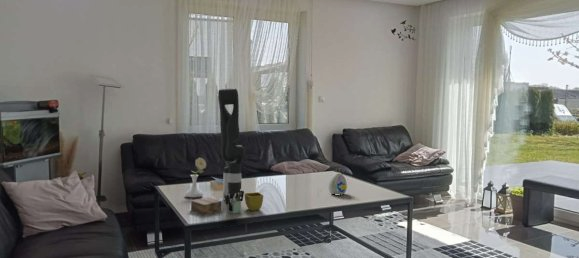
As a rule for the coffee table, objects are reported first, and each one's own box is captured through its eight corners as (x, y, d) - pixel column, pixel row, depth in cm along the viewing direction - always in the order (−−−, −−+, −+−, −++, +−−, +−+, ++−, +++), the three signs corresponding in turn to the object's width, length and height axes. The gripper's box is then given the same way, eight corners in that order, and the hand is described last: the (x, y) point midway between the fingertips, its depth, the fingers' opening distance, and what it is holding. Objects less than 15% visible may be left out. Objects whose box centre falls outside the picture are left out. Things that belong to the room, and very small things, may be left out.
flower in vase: (187, 199, 270) (187, 159, 268) (183, 195, 281) (183, 156, 278) (207, 197, 276) (208, 158, 274) (203, 193, 286) (203, 156, 284)
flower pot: (248, 212, 246) (249, 196, 246) (243, 208, 254) (244, 193, 254) (263, 210, 250) (263, 195, 249) (257, 207, 258) (258, 192, 257)
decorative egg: (334, 197, 288) (335, 174, 287) (324, 193, 299) (325, 171, 298) (349, 195, 294) (350, 173, 292) (339, 191, 305) (340, 170, 303)
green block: (234, 210, 250) (234, 199, 249) (240, 211, 247) (240, 201, 246) (227, 211, 246) (228, 201, 245) (234, 213, 243) (234, 203, 242)
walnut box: (208, 207, 255) (208, 197, 255) (221, 211, 247) (221, 201, 247) (191, 211, 246) (191, 200, 246) (203, 215, 238) (203, 204, 238)
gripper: (238, 177, 253) (237, 206, 254) (220, 181, 241) (220, 211, 243) (248, 179, 248) (247, 209, 250) (230, 183, 237) (230, 214, 238)
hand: (234, 210), depth 246 cm, fingers closed on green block, 5 cm apart
